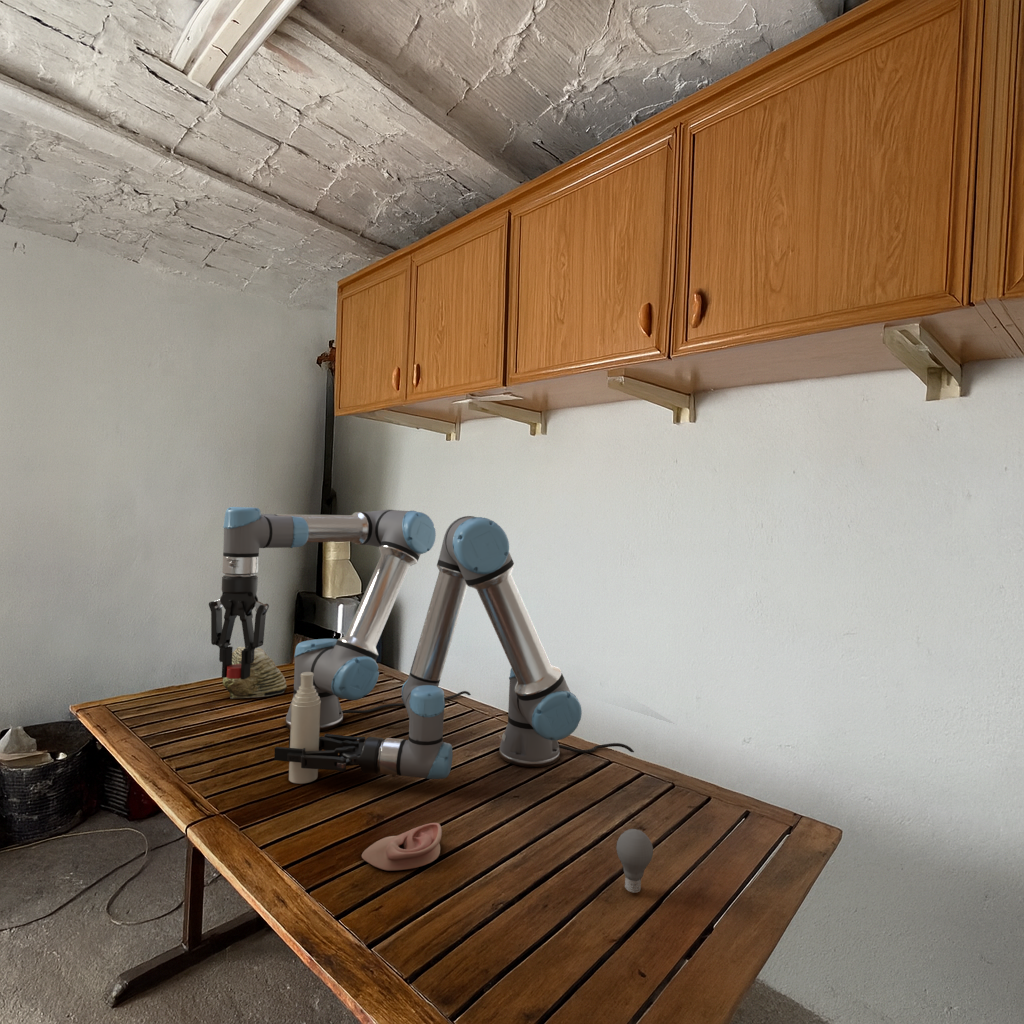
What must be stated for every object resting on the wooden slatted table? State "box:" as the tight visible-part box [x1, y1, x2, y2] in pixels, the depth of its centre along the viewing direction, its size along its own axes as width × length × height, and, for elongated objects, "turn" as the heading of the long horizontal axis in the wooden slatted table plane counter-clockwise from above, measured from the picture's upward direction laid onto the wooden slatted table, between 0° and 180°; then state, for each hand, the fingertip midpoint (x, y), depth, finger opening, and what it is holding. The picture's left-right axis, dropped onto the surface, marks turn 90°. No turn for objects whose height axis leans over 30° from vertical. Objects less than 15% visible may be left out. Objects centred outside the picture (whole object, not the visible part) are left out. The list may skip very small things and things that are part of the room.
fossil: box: [222, 646, 288, 699], centre depth 198 cm, size 9×18×15 cm, turn 132°
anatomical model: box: [361, 822, 443, 872], centre depth 114 cm, size 13×4×12 cm
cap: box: [227, 664, 241, 679], centre depth 144 cm, size 4×4×2 cm
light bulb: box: [615, 828, 654, 894], centre depth 106 cm, size 6×6×10 cm
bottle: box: [288, 672, 321, 785], centre depth 142 cm, size 6×6×24 cm
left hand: (235, 676), depth 145 cm, fingers closed on cap, 4 cm apart
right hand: (282, 747), depth 143 cm, fingers closed on bottle, 6 cm apart
